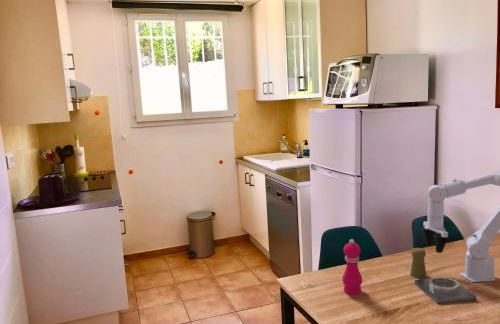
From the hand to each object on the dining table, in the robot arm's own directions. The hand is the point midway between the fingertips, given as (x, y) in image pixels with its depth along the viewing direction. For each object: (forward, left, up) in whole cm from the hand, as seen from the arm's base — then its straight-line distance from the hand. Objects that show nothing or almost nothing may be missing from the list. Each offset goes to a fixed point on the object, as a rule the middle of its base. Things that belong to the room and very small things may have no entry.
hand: (434, 248), depth 159 cm
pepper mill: (+37, +9, -11) cm, 39 cm away
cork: (+7, 0, -11) cm, 12 cm away
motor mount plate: (+5, +15, -10) cm, 19 cm away
